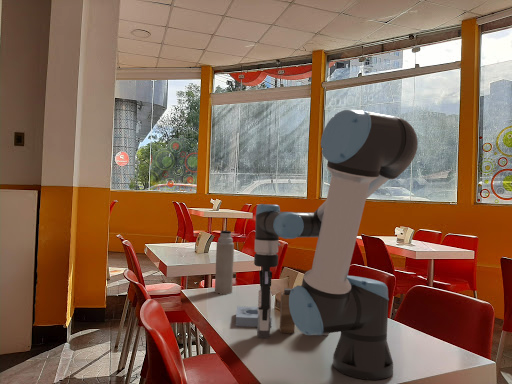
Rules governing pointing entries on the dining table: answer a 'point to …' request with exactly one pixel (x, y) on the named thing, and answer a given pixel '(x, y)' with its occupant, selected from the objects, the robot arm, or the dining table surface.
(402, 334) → the dining table surface
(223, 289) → the thermos bottle
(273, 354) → the dining table surface
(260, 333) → the silver slim bottle
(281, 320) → the square bit
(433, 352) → the dining table surface
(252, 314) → the socket block
